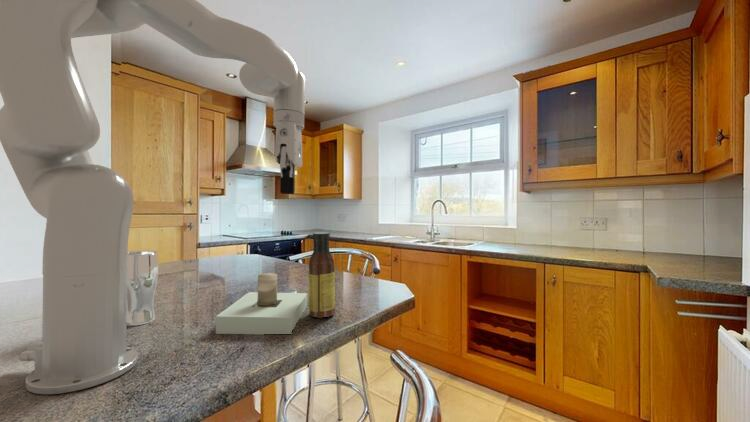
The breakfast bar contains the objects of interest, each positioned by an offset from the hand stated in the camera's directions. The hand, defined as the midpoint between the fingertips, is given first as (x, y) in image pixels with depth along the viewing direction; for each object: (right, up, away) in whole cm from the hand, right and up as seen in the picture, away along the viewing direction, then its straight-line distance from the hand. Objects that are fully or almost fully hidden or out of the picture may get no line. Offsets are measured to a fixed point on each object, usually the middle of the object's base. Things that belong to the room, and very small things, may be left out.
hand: (287, 193), depth 81 cm
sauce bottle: (+9, -30, -4) cm, 31 cm away
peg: (-3, -29, -8) cm, 30 cm away
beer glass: (-30, -29, -11) cm, 43 cm away
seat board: (-3, -29, -8) cm, 30 cm away
